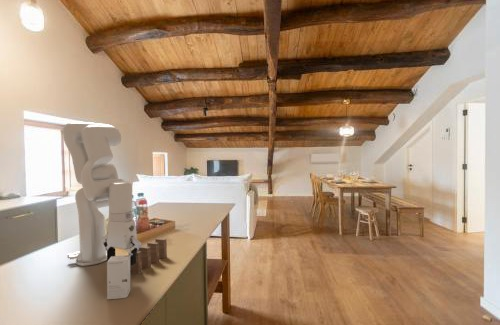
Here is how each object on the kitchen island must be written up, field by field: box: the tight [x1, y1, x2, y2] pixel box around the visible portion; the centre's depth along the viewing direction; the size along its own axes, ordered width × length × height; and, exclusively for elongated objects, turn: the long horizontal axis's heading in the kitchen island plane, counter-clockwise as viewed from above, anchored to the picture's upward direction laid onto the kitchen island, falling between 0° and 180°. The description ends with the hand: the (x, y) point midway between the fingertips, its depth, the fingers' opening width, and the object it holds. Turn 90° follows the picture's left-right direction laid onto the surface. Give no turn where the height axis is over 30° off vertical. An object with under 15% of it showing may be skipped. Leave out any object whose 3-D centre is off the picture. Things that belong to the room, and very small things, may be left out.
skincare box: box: [106, 254, 131, 300], centre depth 83 cm, size 6×4×12 cm
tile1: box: [130, 249, 143, 275], centre depth 99 cm, size 2×5×8 cm, turn 70°
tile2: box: [138, 245, 152, 269], centre depth 104 cm, size 2×5×8 cm, turn 70°
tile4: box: [154, 237, 168, 259], centre depth 113 cm, size 2×5×8 cm, turn 70°
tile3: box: [147, 241, 160, 264], centre depth 108 cm, size 2×5×8 cm, turn 70°
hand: (121, 262), depth 94 cm, fingers open, 9 cm apart
